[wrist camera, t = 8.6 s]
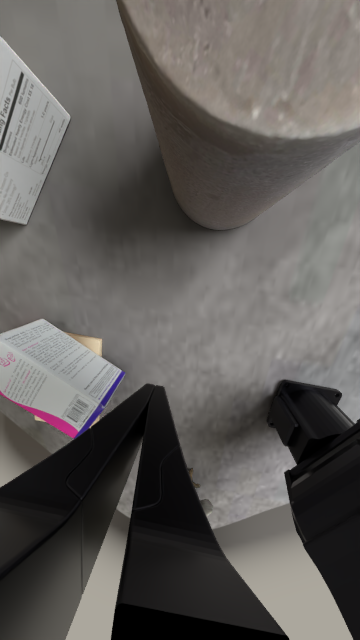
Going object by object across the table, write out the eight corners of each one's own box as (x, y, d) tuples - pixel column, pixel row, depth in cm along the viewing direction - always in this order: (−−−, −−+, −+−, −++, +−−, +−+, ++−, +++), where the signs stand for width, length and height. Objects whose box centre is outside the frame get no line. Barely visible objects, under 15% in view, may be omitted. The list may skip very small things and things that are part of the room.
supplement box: (127, 371, 22) (42, 315, 21) (105, 408, 17) (-13, 336, 15) (104, 401, 24) (24, 351, 23) (77, 444, 19) (-32, 382, 17)
